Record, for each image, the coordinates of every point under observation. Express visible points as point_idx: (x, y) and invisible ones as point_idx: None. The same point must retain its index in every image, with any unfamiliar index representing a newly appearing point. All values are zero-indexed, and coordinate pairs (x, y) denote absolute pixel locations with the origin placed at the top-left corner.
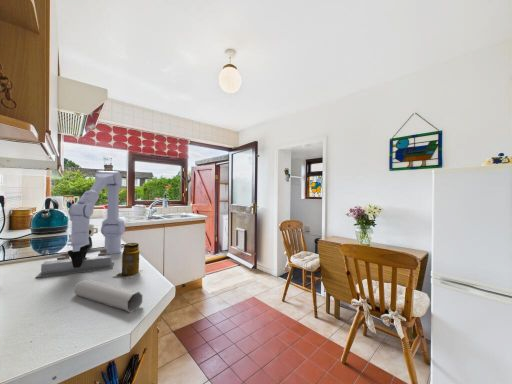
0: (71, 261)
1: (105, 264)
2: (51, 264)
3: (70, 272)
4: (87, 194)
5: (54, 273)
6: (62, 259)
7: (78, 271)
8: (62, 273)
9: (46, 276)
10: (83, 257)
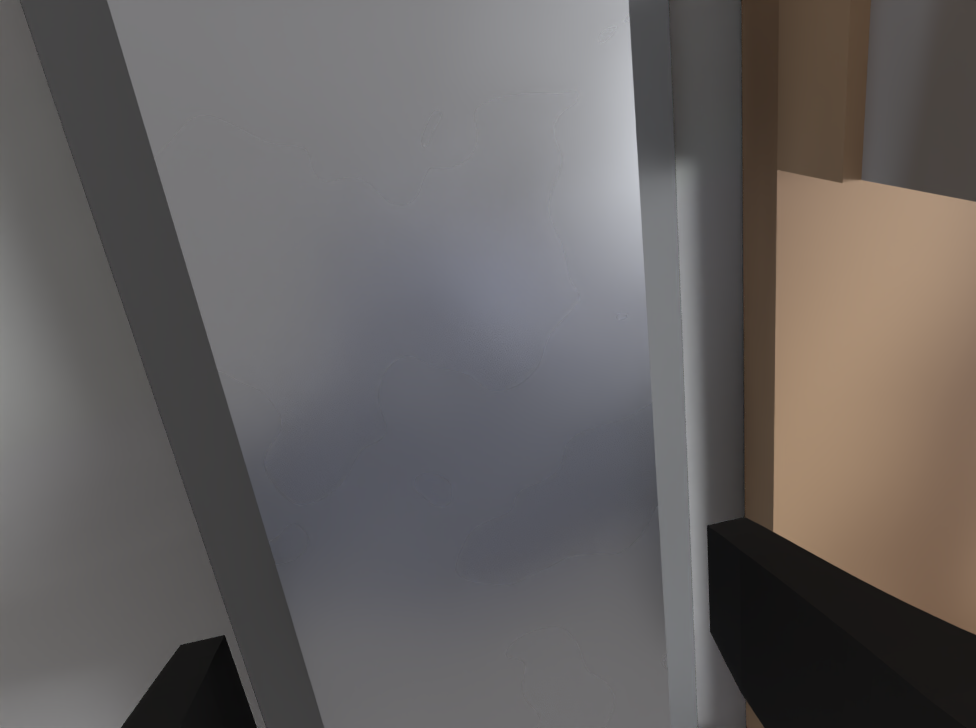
0: (308, 655)
1: None
2: (129, 56)
3: (223, 500)
4: None
5: None
6: (934, 119)
7: (267, 625)
8: (179, 355)
9: (32, 15)
10: (778, 713)
